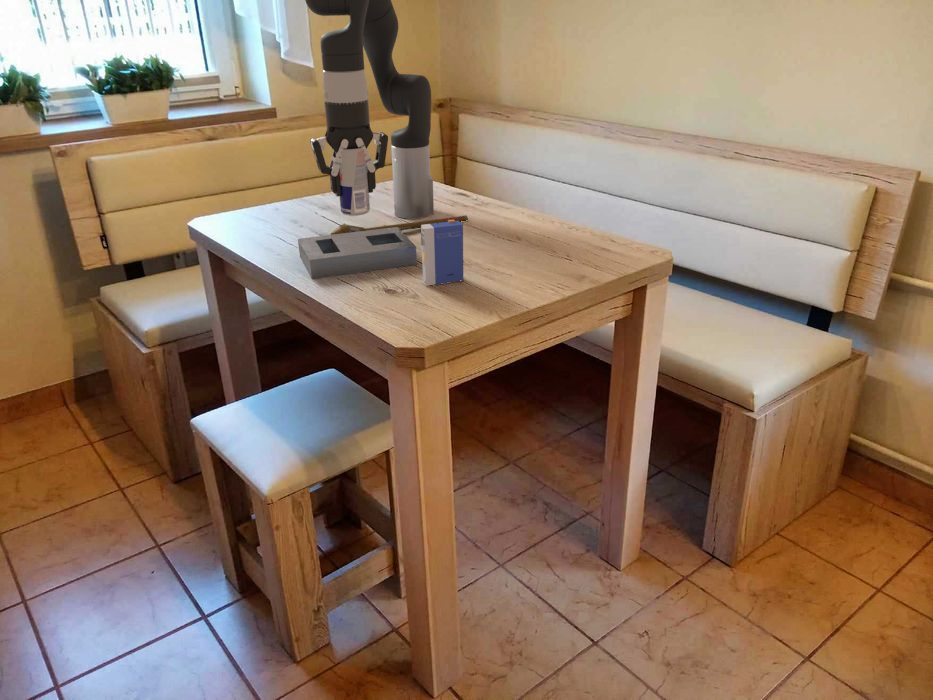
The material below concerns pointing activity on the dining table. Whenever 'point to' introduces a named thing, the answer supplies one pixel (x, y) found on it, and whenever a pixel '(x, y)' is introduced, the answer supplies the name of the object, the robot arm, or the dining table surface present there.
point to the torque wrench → (405, 226)
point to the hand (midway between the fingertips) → (353, 193)
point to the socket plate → (356, 252)
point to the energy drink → (353, 183)
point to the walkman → (442, 252)
